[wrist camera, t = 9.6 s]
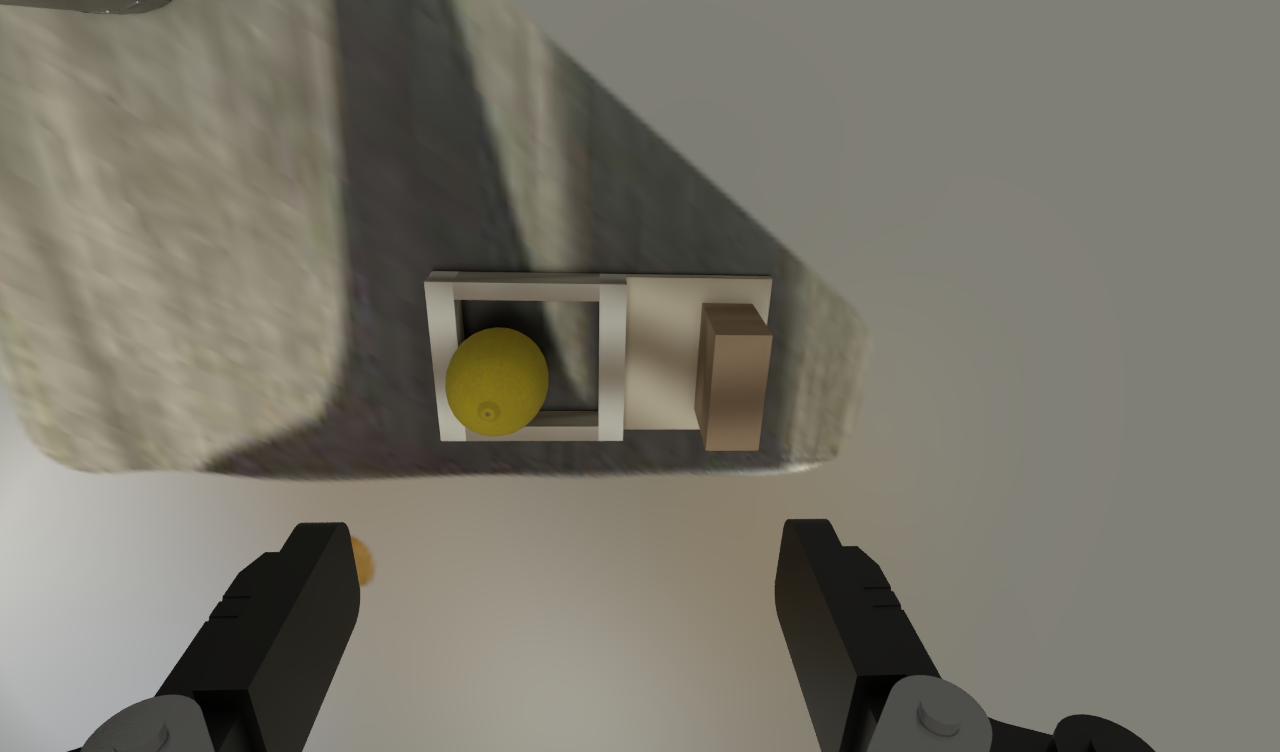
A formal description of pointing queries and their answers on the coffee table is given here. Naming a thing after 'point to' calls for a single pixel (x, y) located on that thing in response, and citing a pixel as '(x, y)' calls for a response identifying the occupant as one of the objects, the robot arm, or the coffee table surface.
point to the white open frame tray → (633, 352)
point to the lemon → (496, 381)
